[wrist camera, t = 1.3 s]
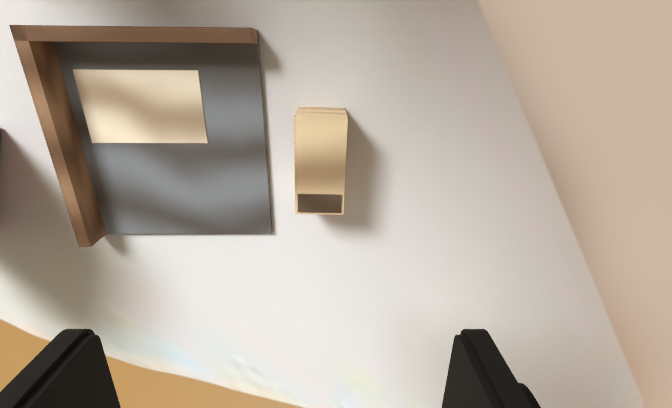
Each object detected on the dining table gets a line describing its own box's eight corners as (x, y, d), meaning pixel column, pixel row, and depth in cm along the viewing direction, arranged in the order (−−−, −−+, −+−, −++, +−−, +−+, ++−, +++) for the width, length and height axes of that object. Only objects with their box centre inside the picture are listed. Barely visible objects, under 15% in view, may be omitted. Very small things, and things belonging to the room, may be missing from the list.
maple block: (299, 106, 31) (294, 115, 26) (344, 108, 31) (348, 117, 26) (299, 192, 34) (295, 214, 29) (341, 193, 34) (343, 215, 29)
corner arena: (41, 28, 28) (9, 25, 25) (257, 30, 28) (250, 27, 25) (99, 231, 35) (79, 247, 32) (272, 230, 35) (267, 245, 32)
